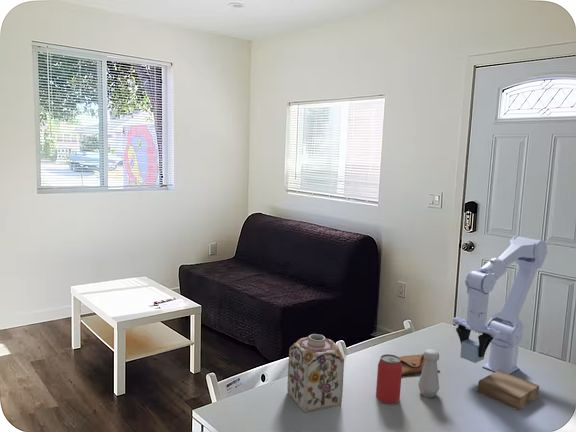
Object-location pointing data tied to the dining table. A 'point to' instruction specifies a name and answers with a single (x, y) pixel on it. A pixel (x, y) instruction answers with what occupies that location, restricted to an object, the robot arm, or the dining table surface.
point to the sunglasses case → (412, 364)
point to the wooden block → (508, 389)
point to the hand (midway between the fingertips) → (472, 353)
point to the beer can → (389, 379)
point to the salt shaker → (429, 374)
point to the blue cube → (470, 350)
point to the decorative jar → (315, 373)
